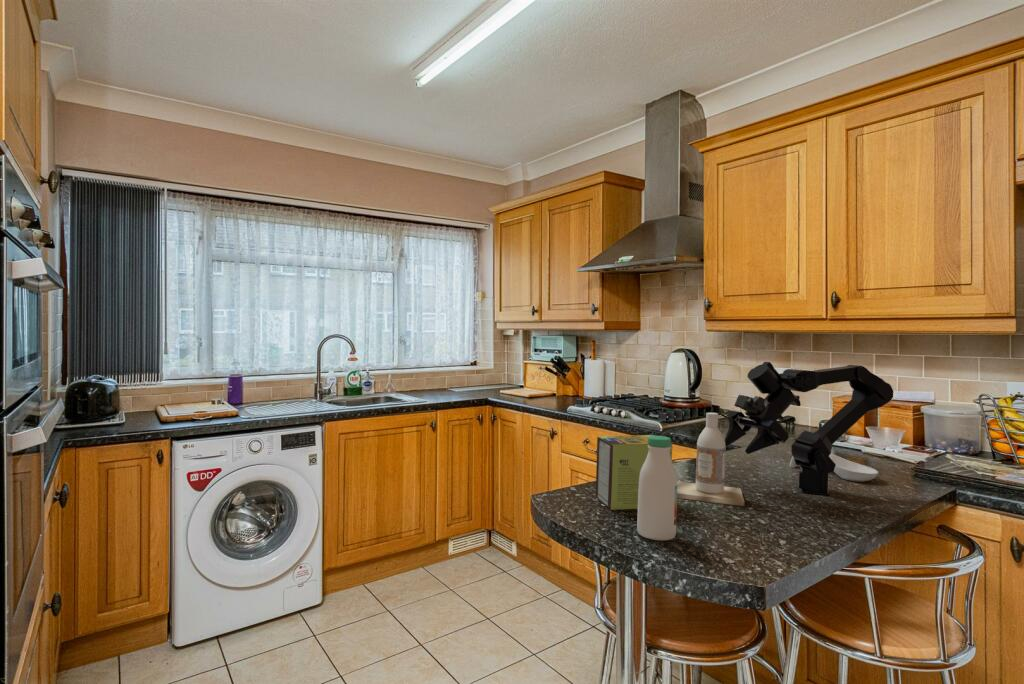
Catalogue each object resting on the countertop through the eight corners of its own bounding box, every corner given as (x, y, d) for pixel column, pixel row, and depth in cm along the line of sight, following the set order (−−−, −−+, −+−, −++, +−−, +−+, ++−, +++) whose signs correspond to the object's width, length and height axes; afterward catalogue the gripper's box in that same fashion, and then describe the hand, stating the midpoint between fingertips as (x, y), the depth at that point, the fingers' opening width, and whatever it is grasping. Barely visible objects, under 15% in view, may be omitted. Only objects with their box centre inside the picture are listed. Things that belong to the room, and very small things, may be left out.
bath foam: (690, 489, 140) (693, 412, 140) (703, 485, 145) (706, 410, 145) (715, 496, 135) (718, 416, 135) (728, 491, 140) (731, 413, 140)
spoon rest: (883, 481, 161) (884, 457, 161) (870, 487, 153) (871, 462, 153) (799, 465, 179) (800, 443, 178) (783, 470, 171) (784, 447, 171)
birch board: (740, 492, 143) (740, 488, 143) (744, 506, 132) (744, 501, 132) (676, 485, 148) (677, 481, 148) (675, 497, 137) (675, 493, 137)
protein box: (671, 508, 129) (673, 442, 129) (610, 510, 126) (612, 443, 125) (651, 494, 139) (653, 434, 139) (594, 496, 136) (596, 435, 136)
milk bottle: (669, 544, 106) (673, 442, 106) (631, 535, 110) (634, 437, 110) (680, 533, 112) (683, 436, 112) (643, 525, 117) (647, 432, 116)
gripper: (733, 381, 151) (696, 421, 149) (780, 388, 133) (738, 434, 131) (757, 409, 153) (721, 449, 151) (806, 420, 135) (766, 465, 133)
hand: (735, 448), depth 141 cm, fingers open, 9 cm apart
